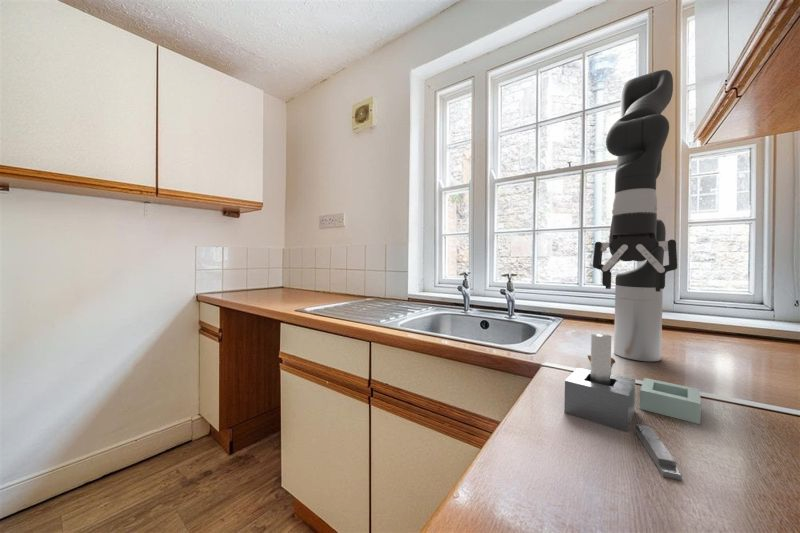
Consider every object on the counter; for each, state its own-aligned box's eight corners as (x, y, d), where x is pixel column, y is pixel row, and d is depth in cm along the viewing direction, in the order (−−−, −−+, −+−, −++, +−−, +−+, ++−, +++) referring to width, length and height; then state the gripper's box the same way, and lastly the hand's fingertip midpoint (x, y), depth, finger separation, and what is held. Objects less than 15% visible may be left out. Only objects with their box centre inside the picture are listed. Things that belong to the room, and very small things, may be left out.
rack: (643, 394, 55) (644, 377, 55) (698, 407, 51) (699, 389, 50) (639, 408, 50) (640, 390, 50) (700, 424, 45) (701, 403, 45)
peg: (591, 406, 51) (593, 332, 51) (611, 411, 49) (612, 335, 49) (588, 412, 49) (589, 335, 49) (608, 417, 47) (609, 338, 47)
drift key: (635, 432, 43) (636, 424, 43) (650, 435, 43) (650, 426, 43) (663, 476, 34) (663, 465, 34) (681, 480, 34) (681, 469, 34)
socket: (577, 395, 55) (578, 367, 55) (634, 411, 49) (635, 379, 49) (564, 412, 49) (564, 380, 49) (627, 431, 43) (628, 395, 43)
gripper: (679, 213, 65) (676, 291, 65) (598, 218, 74) (596, 287, 74) (678, 207, 59) (676, 293, 59) (591, 214, 69) (589, 288, 69)
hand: (631, 290), depth 67 cm, fingers open, 8 cm apart
